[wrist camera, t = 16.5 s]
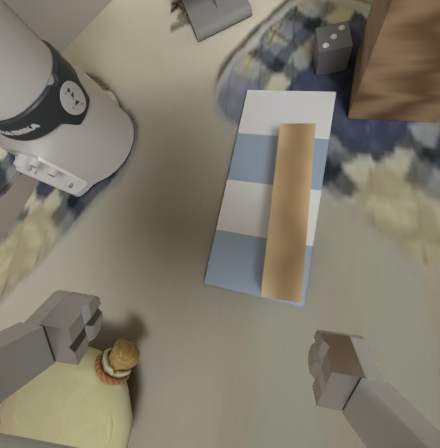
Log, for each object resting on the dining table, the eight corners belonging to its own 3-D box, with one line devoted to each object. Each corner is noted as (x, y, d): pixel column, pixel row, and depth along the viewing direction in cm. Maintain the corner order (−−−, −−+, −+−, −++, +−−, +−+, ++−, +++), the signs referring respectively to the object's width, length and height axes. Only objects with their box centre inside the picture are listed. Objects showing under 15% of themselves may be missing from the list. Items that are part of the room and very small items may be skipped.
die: (315, 76, 37) (319, 50, 33) (312, 53, 38) (315, 26, 34) (345, 70, 36) (353, 43, 32) (341, 47, 37) (348, 18, 33)
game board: (206, 283, 34) (203, 283, 33) (248, 95, 39) (247, 90, 38) (302, 306, 30) (303, 307, 29) (334, 98, 36) (336, 91, 35)
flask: (25, 396, 36) (117, 295, 37) (89, 510, 30) (194, 388, 32) (-57, 428, 27) (68, 294, 28) (14, 596, 22) (163, 422, 23)
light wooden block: (263, 295, 31) (260, 296, 27) (280, 141, 35) (280, 123, 31) (298, 301, 30) (301, 303, 26) (312, 142, 34) (316, 123, 30)
